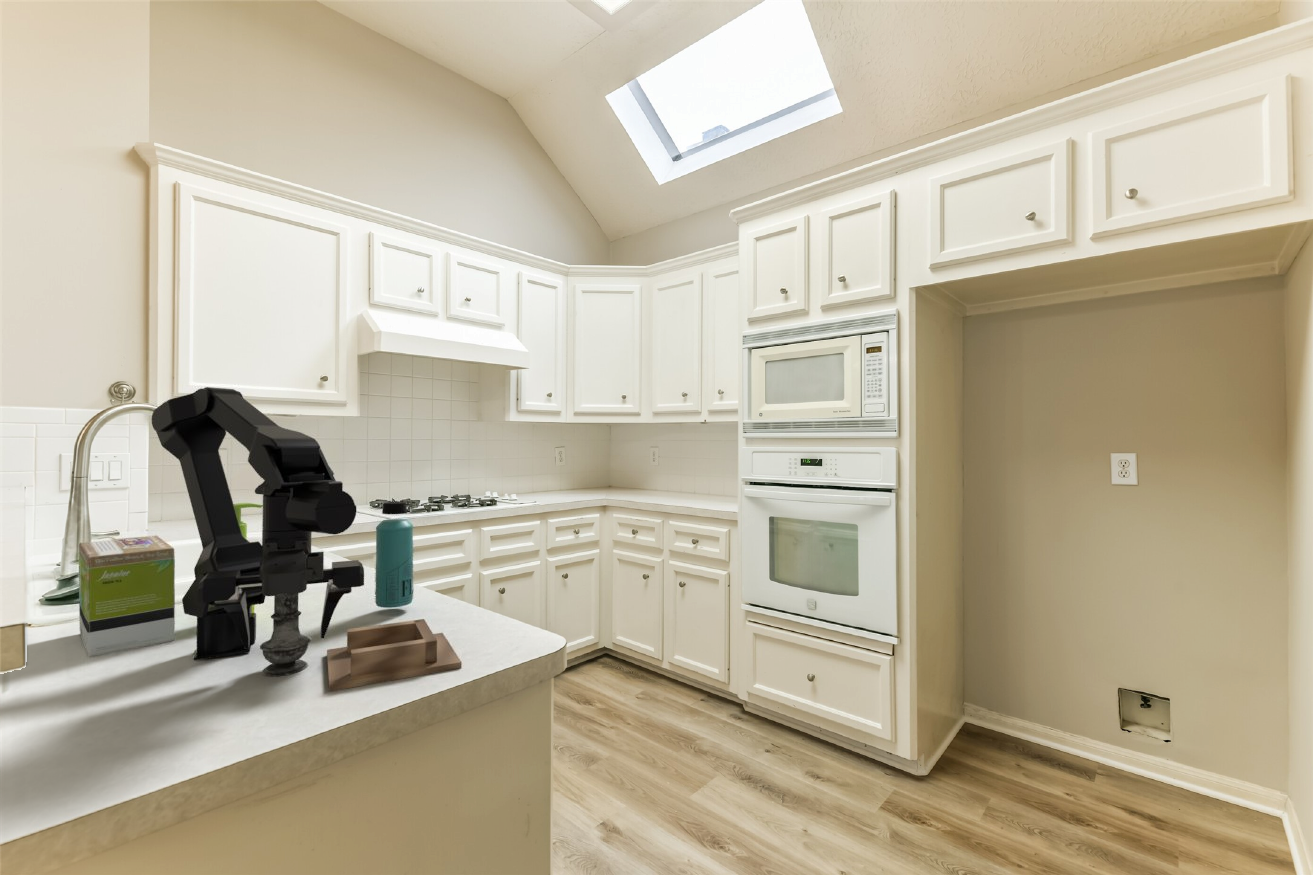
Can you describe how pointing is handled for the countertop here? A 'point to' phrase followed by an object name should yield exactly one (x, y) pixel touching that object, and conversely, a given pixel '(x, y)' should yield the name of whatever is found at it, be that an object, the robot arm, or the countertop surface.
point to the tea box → (126, 594)
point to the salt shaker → (285, 638)
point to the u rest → (389, 654)
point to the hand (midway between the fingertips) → (285, 642)
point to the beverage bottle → (394, 558)
